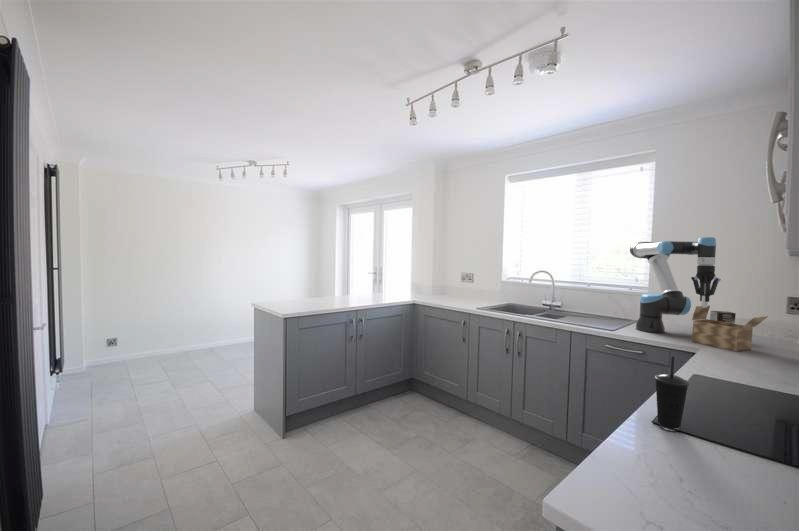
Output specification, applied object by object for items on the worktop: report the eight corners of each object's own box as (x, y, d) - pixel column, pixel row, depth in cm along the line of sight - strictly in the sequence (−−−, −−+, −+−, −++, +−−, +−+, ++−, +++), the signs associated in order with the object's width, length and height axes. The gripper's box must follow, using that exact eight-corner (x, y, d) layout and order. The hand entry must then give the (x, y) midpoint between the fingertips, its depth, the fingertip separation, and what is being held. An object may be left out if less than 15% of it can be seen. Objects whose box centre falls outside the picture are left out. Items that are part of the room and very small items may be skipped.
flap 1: (710, 305, 200) (709, 305, 201) (696, 306, 195) (695, 306, 195) (705, 318, 202) (705, 318, 202) (692, 320, 197) (691, 319, 197)
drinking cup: (645, 420, 103) (649, 352, 102) (673, 421, 102) (678, 353, 101) (662, 433, 95) (667, 360, 94) (693, 435, 94) (698, 362, 94)
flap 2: (753, 317, 173) (754, 318, 173) (767, 316, 178) (768, 316, 178) (740, 328, 178) (741, 328, 178) (753, 326, 183) (754, 327, 183)
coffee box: (716, 340, 202) (718, 312, 202) (708, 337, 209) (709, 310, 208) (734, 341, 201) (736, 313, 201) (724, 338, 208) (726, 311, 207)
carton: (691, 341, 197) (693, 320, 197) (705, 340, 202) (706, 319, 202) (737, 351, 179) (739, 328, 178) (751, 349, 184) (752, 326, 183)
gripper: (688, 264, 201) (687, 306, 202) (716, 265, 189) (714, 309, 190) (696, 264, 204) (694, 305, 205) (724, 265, 192) (722, 308, 193)
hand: (704, 307), depth 197 cm, fingers closed
